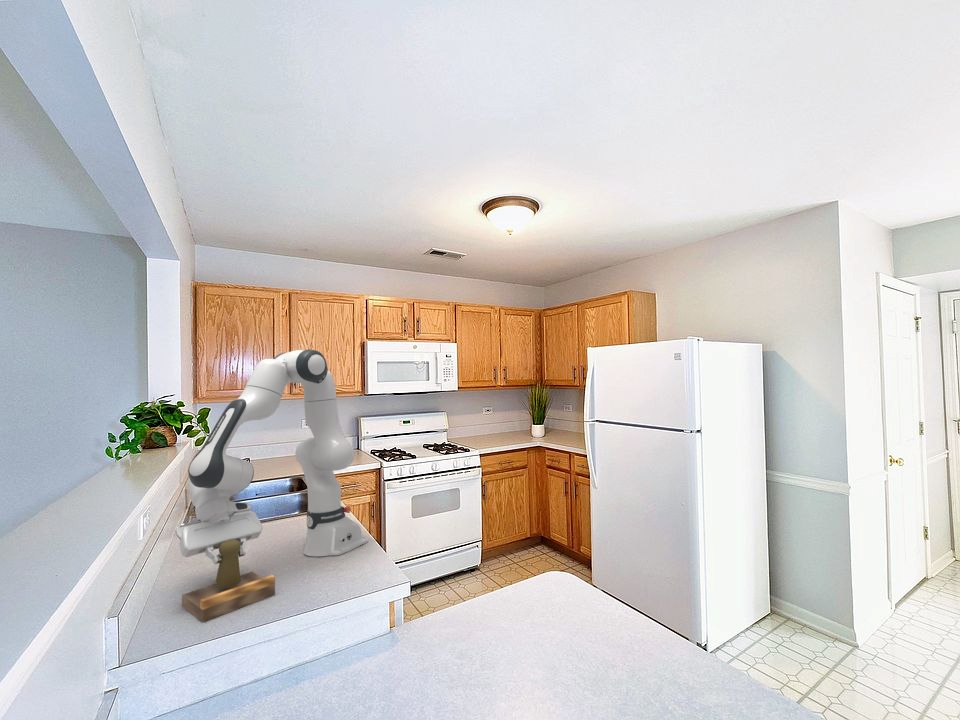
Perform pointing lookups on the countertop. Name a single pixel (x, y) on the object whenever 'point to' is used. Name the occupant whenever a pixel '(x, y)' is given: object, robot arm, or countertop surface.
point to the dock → (227, 606)
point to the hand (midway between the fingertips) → (230, 558)
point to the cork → (228, 564)
